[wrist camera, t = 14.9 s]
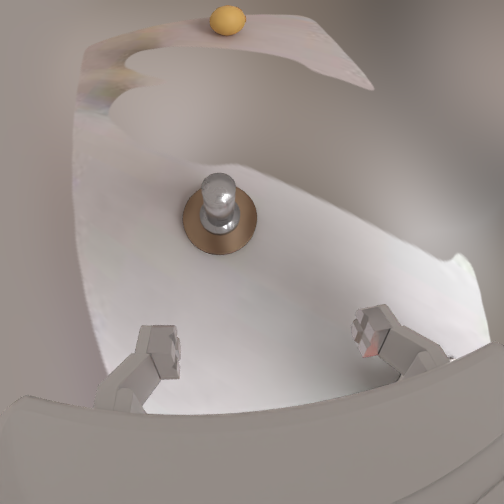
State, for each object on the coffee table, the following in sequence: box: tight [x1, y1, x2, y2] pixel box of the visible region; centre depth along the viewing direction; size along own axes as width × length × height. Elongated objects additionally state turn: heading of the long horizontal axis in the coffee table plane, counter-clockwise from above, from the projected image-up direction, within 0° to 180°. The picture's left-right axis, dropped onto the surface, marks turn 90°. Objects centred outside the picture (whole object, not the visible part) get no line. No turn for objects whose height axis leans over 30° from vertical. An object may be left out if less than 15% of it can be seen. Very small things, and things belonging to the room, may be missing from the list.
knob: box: [200, 173, 240, 235], centre depth 40 cm, size 6×6×10 cm
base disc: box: [183, 187, 257, 255], centre depth 45 cm, size 12×12×2 cm
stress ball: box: [210, 5, 246, 36], centre depth 56 cm, size 10×10×10 cm
